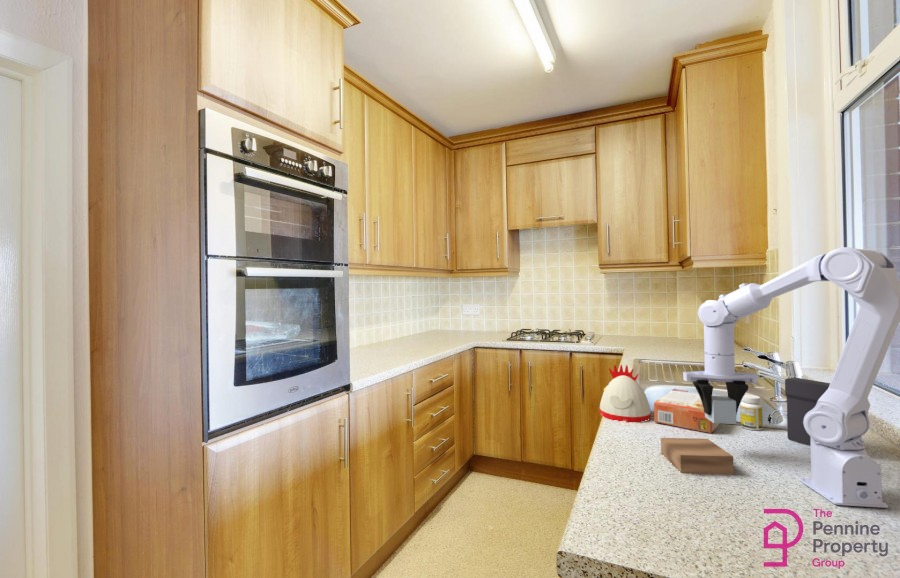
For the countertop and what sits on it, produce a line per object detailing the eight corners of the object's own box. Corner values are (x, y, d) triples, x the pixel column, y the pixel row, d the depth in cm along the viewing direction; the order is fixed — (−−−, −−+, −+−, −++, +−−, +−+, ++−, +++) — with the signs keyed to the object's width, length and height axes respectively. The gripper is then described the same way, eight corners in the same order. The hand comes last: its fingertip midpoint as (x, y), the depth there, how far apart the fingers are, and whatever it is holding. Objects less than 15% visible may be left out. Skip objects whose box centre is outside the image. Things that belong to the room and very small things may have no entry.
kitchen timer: (604, 406, 132) (604, 359, 132) (652, 412, 125) (651, 362, 125) (595, 418, 120) (594, 366, 121) (647, 425, 113) (647, 370, 113)
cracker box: (711, 435, 106) (727, 415, 121) (711, 412, 106) (727, 394, 121) (653, 423, 115) (674, 406, 131) (652, 401, 115) (674, 387, 131)
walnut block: (733, 476, 83) (733, 456, 83) (680, 474, 84) (680, 455, 84) (707, 456, 93) (707, 438, 93) (661, 455, 94) (660, 437, 94)
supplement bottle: (755, 425, 112) (754, 394, 112) (767, 431, 108) (766, 398, 108) (736, 424, 113) (736, 394, 113) (747, 430, 108) (746, 398, 108)
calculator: (852, 453, 93) (851, 385, 93) (841, 456, 91) (840, 387, 91) (796, 437, 103) (795, 376, 103) (785, 439, 101) (784, 378, 101)
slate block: (736, 423, 91) (735, 401, 91) (713, 423, 92) (713, 400, 92) (726, 417, 95) (725, 395, 95) (705, 417, 96) (704, 395, 96)
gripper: (745, 351, 96) (746, 410, 96) (677, 350, 99) (678, 407, 99) (762, 356, 89) (763, 419, 89) (689, 355, 92) (690, 416, 92)
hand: (720, 414), depth 94 cm, fingers closed on slate block, 4 cm apart
